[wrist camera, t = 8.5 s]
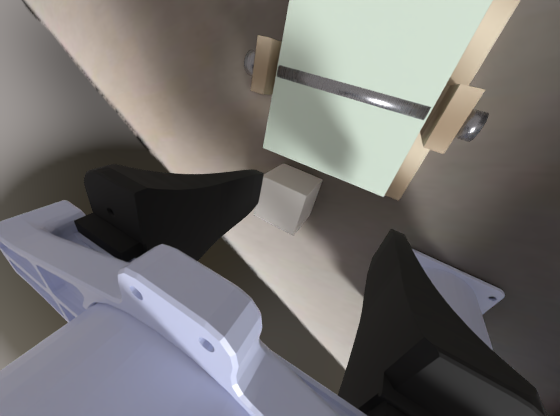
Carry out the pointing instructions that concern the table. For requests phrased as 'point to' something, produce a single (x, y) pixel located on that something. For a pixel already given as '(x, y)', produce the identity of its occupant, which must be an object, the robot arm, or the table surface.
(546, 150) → the table surface
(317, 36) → the trapdoor
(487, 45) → the trapdoor frame
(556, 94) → the table surface
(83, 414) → the robot arm
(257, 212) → the light grey cube
